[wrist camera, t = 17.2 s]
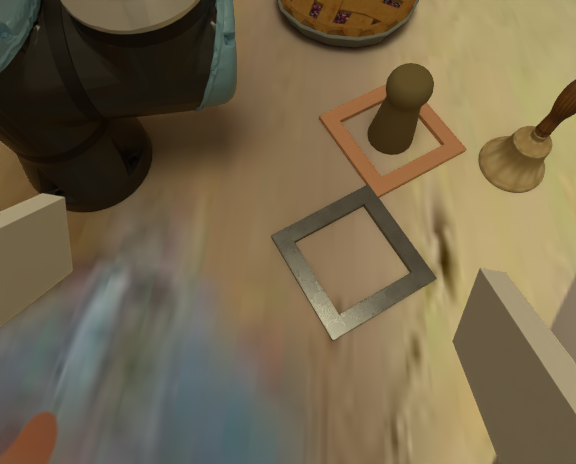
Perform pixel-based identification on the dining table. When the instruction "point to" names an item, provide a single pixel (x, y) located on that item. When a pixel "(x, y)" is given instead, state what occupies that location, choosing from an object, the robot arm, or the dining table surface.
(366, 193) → the frame
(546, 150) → the hand bell
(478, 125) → the dining table surface
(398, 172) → the frame
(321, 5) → the pie
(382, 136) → the cork
